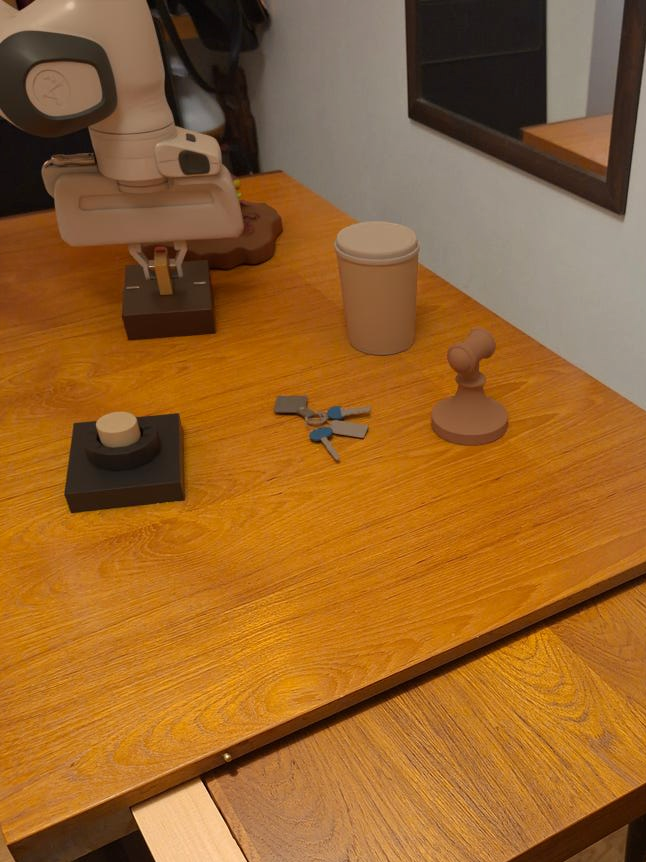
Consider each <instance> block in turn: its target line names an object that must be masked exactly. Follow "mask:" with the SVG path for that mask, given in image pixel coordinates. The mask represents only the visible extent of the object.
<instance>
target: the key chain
mask: <svg viewBox="0 0 646 862" xmlns="http://www.w3.org/2000/svg"><path fill="white" fill-rule="evenodd" d="M307 403H308V396H307V395H277V396H276V398H275V402H274V407H273V412H274V413H277V414H279V413H284V414H285V413H290V414H291V413H294V414H295V413H296V414H297V415H300V416H301V417H303V418H304V421H305V423H304V424H305V425H306V427H308V428H309V429H311V430H312V431H311V432H310V433H309V434H308V437H309V439H310V440H311V441H314V442H317V441H321V442H322V444H323V445H324V446H325V448H326V450H327V451H328V452H329V453H330V455H331V456H332V457H333V459H335V461H340V460H341V458H340V456H339V454H338V452H337V450H336V449H335V447H334V446H333V444H332V443H331V441H329V439H328V438H329V437H331V436H332V435H333V434H336V435H340V436H341V435H342V436H348V437H354V438H359V439H364V438H365V436H366V433H367V431H368V429H369V424H363V423H357V422H351V421H346V420H345V421H344V420H341V419H344V417H346V416H348V417H349V416H351V415H356V416H357V415H358V414H360V415H361V414H362V413H366V414H368V413H369V412H371V410H372V408H371V406H370V405H367V406H359V407H351V408H345V407H342V405H335V406H331V407H330V408H328V409H327V411H326V412H325V411H317V410H316V411H313V410H312V409H309V408H308V407H307ZM314 416H319V417H314ZM329 419H331V420H332V421H329ZM312 420H317V421H312ZM325 422H327V424H328V423H329V426H320V427H317V428H315V427H311V426H310V425H314V426H317V425H322V424H324V423H325Z"/></svg>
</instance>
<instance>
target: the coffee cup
mask: <svg viewBox="0 0 646 862" xmlns="http://www.w3.org/2000/svg"><path fill="white" fill-rule="evenodd" d="M333 245H334V251H335V253H336V260H337V267H338V268H337V269H338V276H339V281H340V289H341V295H342V302H343V311H344V315H345V323H346V330H347V335H348V341H349V344H350V345H351V346H352V348H353V349H355V350H357V351H358V352H361V353H364V354H368V355H374V356H391V355H394V354H400V353H402V352H404V351H406V350H408V349H410V347H412V345H413V344H414V341H415V335H416V333H415V331H416V318H417V317H416V314H417V297H418V296H417V294H418V278H419V277H418V274H419V273H418V272H419V252H420V247H421V243H420V240H419V238H418V236H417V233H416V232H415V231H414V230H413V229H411V228H410V227H408V226H405V225H403V224H400V223H395V222H390V221H389V222H388V221H376V220H375V221H364V222H358V223H357V222H356V223H353V224H350V225H348V226H345V227H344V228H342V229H340V230H339V231H338V233H337V235H336V238H335V240H334V243H333Z"/></svg>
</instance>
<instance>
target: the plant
mask: <svg viewBox="0 0 646 862" xmlns="http://www.w3.org/2000/svg"><path fill="white" fill-rule="evenodd" d="M229 173H230V175H231V177H232V179H233V182H234V185H235V188H236V191H239V190H240V189H241V186H242V183H241V180H240V178H238V177H237V176H236V175H235V174H233V173H231V172H230V171H229ZM237 195H238V199H239V198H240V197H241V196H242V192H237ZM239 203H240V208H241V212H242V218H243V224H244V230H243V232H242V233H241V235H240V236H239V237H238V238H224V239H207V240H190V241H187V252H186V254H185V257H184V259H183V262H187V261H202V260H208V264H209V270H210V269H220V270H231V269H233V268H235V267H237V266H239V265H243V264H247V265H257V264H258V265H259V264H260V263H263V262H265V261H266V262H267V260H269V259H271V257H272V256H273V255H274V252H275V241H276V239H277V237H278V235H280V234H281V233H283V221H282V216H281V215H280V214H279V213H278V211H277V209H275V208H274V207H272V206H270V205H268V204H267V203H266V202H251V201H246V200H245V199H239ZM155 247H165V248H167V252H168V257H169V259H175V257H176V254H177V251H178V250H175V248H174V243H173V242H156V243H142V252H143V253H144V255H145V256H146V257H147V258H148V260H154V252H155Z"/></svg>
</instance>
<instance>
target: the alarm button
mask: <svg viewBox="0 0 646 862" xmlns="http://www.w3.org/2000/svg"><path fill="white" fill-rule="evenodd" d="M136 417H137V416H136ZM136 417H135V414H133V413H131V412H128V411H113V412H109V413H106V414H104V415H102V416H100V417H99V418H98V419H97V420H96V421H97V422H96V428H97V431H98V434H99V437H100V440H101V443H102V444H103V445H104V446H107V447H112V448H114V447H124V446H128V445H130V444H133V443H135V442H137V441H138V440H139V439H140V437H141V433H140V429H139V425H138V422H137V418H136Z"/></svg>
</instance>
